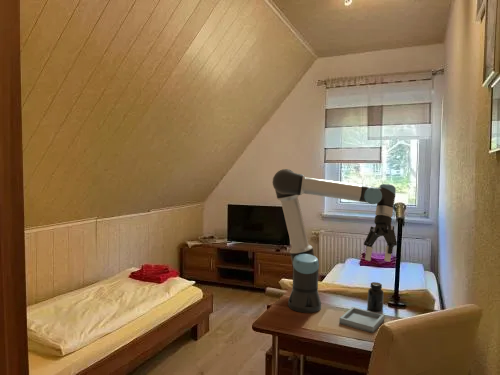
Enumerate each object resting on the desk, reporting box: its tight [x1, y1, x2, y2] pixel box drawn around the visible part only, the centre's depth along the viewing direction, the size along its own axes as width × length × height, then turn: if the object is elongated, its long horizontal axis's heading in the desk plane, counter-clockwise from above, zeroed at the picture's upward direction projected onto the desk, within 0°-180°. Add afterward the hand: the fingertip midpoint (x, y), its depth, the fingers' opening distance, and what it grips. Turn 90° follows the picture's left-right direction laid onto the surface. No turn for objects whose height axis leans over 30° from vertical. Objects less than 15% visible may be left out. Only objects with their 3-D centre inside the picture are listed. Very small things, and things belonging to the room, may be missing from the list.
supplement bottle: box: [366, 281, 385, 313], centre depth 170 cm, size 7×7×12 cm
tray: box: [338, 306, 385, 334], centre depth 156 cm, size 14×15×2 cm
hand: (377, 260), depth 170 cm, fingers open, 13 cm apart
